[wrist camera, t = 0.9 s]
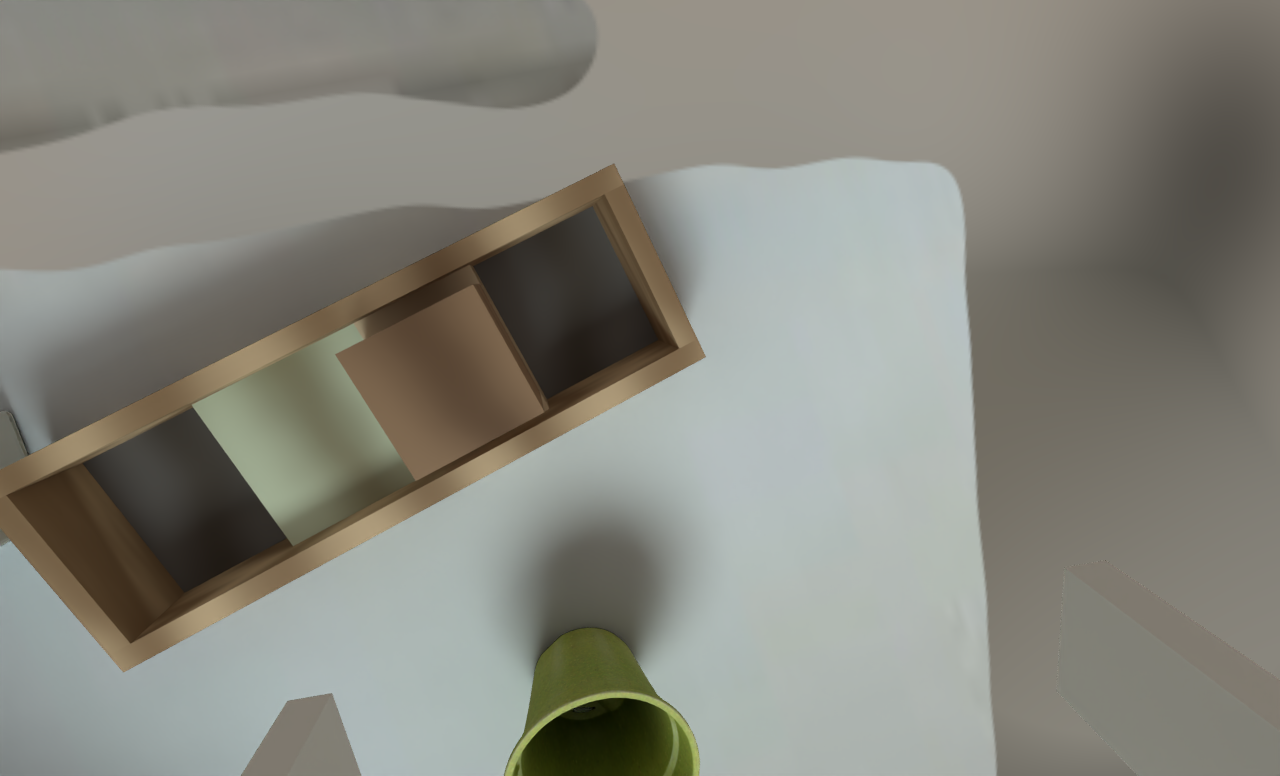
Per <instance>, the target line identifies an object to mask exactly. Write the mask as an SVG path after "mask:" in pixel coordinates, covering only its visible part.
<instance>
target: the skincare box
mask: <svg viewBox="0 0 1280 776" xmlns="http://www.w3.org/2000/svg"><path fill="white" fill-rule="evenodd" d="M26 456H28V454H27V451H26V449H25V446H24V443H23V441H22V438H21V436H20V433H19V430H18V428H17V426H16V423H15V420H14V418H13V416H12V414H11V413H10V412H7V411H0V469H2V468H4V467H6V466H8V465H10V464H12V463H14V462H16V461H18V460H20V459H22V458H24V457H26ZM9 541H11V540H10V539H9V538H8V537H7V536H6V534H5V533H4V532H3V531H2V530H1V529H0V546H2V545H4V544H5V543H7V542H9Z"/></svg>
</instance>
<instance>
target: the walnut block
mask: <svg viewBox="0 0 1280 776" xmlns="http://www.w3.org/2000/svg"><path fill="white" fill-rule="evenodd" d="M335 355H336V357H337V358H338V360H339V362H340V363H341V365H342V366H343V368H344V369H345V371H346V372H347V374H348V376H349V377H350V379H351V380H352V382H353V383H354V385H355V387H356V388H357V390H358V391H359V393H360V394H361V396H362V398H363V399H364V401H365V402H366V404H367V405H368V407H369V408H370V410H371V412H372V413H373V415H374V416H375V418H376V419H377V421H378V423H379V424H380V426H381V427H382V429H383V430H384V432H385V434H386V435H387V437H388V438H389V440H390V441H391V443H392V444H393V446H394V448H395V449H396V451H397V452H398V454H399V455H400V457H401V459H402V460H403V462H404V463H405V465H406V466H407V468H408V470H409V471H410V473H411V474H412V476H413V477H414V479H415V480H416V481H417V480H419V479H421V478H423V477H425V476H427V475H428V474H430V473H432V472H434V471H436V470H438V469H440V468H441V467H443V466H445V465H447V464H449V463H451V462H453V461H455V460H456V459H458V458H460V457H462V456H464V455H466V454H468V453H469V452H471V451H473V450H475V449H477V448H479V447H481V446H482V445H484V444H486V443H488V442H490V441H492V440H494V439H496V438H497V437H499V436H501V435H503V434H505V433H507V432H509V431H510V430H512V429H514V428H516V427H518V426H520V425H522V424H524V423H525V422H527V421H529V420H531V419H533V418H535V417H537V416H538V415H540V414H542V413H544V408H543V403H542V399H541V394H540V391H539V389H538V387H537V386H536V384H535V382H534V380H533V378H532V377H531V375H530V373H529V371H528V369H527V368H526V366H525V364H524V362H523V360H522V359H521V357H520V355H519V353H518V351H517V350H516V348H515V346H514V344H513V342H512V341H511V339H510V337H509V335H508V333H507V332H506V330H505V328H504V326H503V324H502V323H501V321H500V319H499V317H498V315H497V314H496V312H495V310H494V308H493V306H492V305H491V303H490V301H489V299H488V298H487V296H486V294H485V292H484V290H483V289H482V287H481V285H480V284H473V285H471V286H469V287H467V288H465V289H463V290H461V291H459V292H457V293H455V294H453V295H451V296H449V297H447V298H445V299H443V300H441V301H439V302H437V303H435V304H433V305H431V306H429V307H427V308H425V309H423V310H422V311H420V312H418V313H416V314H414V315H412V316H410V317H408V318H406V319H404V320H402V321H400V322H398V323H396V324H394V325H392V326H390V327H388V328H386V329H384V330H382V331H380V332H378V333H376V334H374V335H372V336H370V337H368V338H366V339H364V340H362V341H360V342H358V343H356V344H354V345H353V346H351V347H349V348H347V349H345V350H343V351H341V352H339V353H337V354H335Z"/></svg>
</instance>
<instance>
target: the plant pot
mask: <svg viewBox="0 0 1280 776" xmlns="http://www.w3.org/2000/svg"><path fill="white" fill-rule="evenodd" d="M575 707H578V708H580V707H582V708H585V707H591V708H592V707H595V708H594V709H592V710H590V711H588V712H583V713H577V712H574V711H573V708H575ZM699 769H700V758H699V751H698V746H697V743H696V740H695V737H694V734H693V732H692V730H691V729H690V727H689V725H688V723H687V722H686V720H685V719H684V718H683V716H682V715H681V714H680V713H679V712H678V711H677V710H676V709H675V708H674V707H673V706H671V705H670V704H669V703H667V702H666V701H664V700H663V699H662V698H660V697H659V696H658V695H657V694H656V692H655V690H654V689H653V687H652V686H651V684H650V683H649V681H648V679H647V678H646V676H645V674H644V673H643V671H642V669H641V668H640V666H639V664H638V663H637V661H636V659H635V658H634V656H633V654H632V653H631V651H630V649H629V648H628V646H627V645H626V644H625V643H624V642H623V641H622V640H621V639H619V638H618V637H617V636H616V635H614V634H613V633H611V632H609V631H606V630H603V629H598V628H582V629H577V630H573V631H570V632H568V633H565V634H564V635H562V636H560V637H559V638H558V639H557V640H556V641H555V642H554V643H553V644H552V645H551V646H550V647H549V648H548V649H547V650H546V651H545V652H544V653H543V654H542V655H541V656H540V658H539V660H538V662H537V665H536V668H535V672H534V679H533V685H532V691H531V698H530V703H529V709H528V714H527V720H526V725H525V730H524V733H523V735H522V737H521V738H520V740H519V741H518V743H517V744H516V746H515V748H514V750H513V751H512V753H511V756H510V758H509V760H508V763H507V766H506V770H505V773H504V776H699Z"/></svg>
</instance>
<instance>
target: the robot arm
mask: <svg viewBox="0 0 1280 776" xmlns="http://www.w3.org/2000/svg"><path fill="white" fill-rule="evenodd" d="M1063 582H1064V583H1063V597H1062V612H1061V628H1060V643H1059V660H1058V676H1057V692H1058V693H1059V694H1060V695H1061V696H1062V697H1063V698H1064V699H1065V701H1066V702H1067V703H1068V704H1069V705H1070V706H1071V707H1072V708H1073V709H1074V710H1075V711H1076V712H1077V713H1078V714H1079V715H1080V716H1081V717H1082V718H1083V719H1084V720H1085V721H1086V722H1087V723H1088V724H1089V726H1091V728H1092V729H1093V730H1094V731H1095V732H1096V733H1097V734H1098V735H1099V736H1100V737H1101V738H1102V739H1103V740H1104V741H1105V742H1106V743H1107V744H1108V745H1109V746H1110V747H1111V748H1112V749H1113V751H1115V753H1116V754H1117V755H1118V756H1119V757H1120V758H1121V759H1122V760H1123V761H1124V762H1125V763H1126V764H1127V765H1128V766H1129V767H1130V768H1131V769H1132V770H1133V771H1134V772H1135V773H1136V774H1137V775H1138V776H1280V680H1279V679H1278V678H1277V677H1275V676H1274V675H1272V674H1271V673H1269V672H1268V671H1266V670H1265V669H1263V668H1262V667H1260V666H1259V665H1258V664H1256V663H1255V662H1253V661H1252V660H1250V659H1249V658H1247V657H1246V656H1244V655H1243V654H1242V653H1240V652H1239V651H1237V650H1236V649H1234V648H1233V647H1231V646H1230V645H1228V644H1227V643H1225V642H1224V641H1223V640H1221V639H1220V638H1218V637H1217V636H1215V635H1214V634H1212V633H1211V632H1209V631H1208V630H1207V629H1205V628H1204V627H1202V626H1201V625H1199V624H1198V623H1196V622H1195V621H1193V620H1192V619H1191V618H1189V617H1188V616H1186V615H1185V614H1183V613H1182V612H1180V611H1179V610H1177V609H1176V608H1174V607H1173V606H1172V605H1170V604H1169V603H1167V602H1166V601H1164V600H1163V599H1161V598H1160V597H1158V596H1157V595H1155V594H1154V593H1153V592H1151V591H1150V590H1148V589H1147V588H1145V587H1144V586H1142V585H1141V584H1139V583H1138V582H1137V581H1135V580H1134V579H1132V578H1131V577H1129V576H1128V575H1126V574H1125V573H1123V572H1122V571H1120V570H1119V569H1118V568H1116V567H1114V566H1113V565H1111V564H1110V563H1109V562H1107V561H1106V560H1105V561H1098V562H1093V563H1087V564H1081V565H1076V566H1070V567H1064V580H1063ZM241 776H361V773H360V770H359V768H358V765H357V762H356V759H355V756H354V754H353V751H352V748H351V745H350V742H349V740H348V737H347V734H346V731H345V728H344V726H343V723H342V720H341V717H340V715H339V712H338V709H337V706H336V703H335V701H334V698H333V695H332V693H331V694H325V695H319V696H313V697H307V698H301V699H296V700H290V701H287V703H286V704H285V706H284V707H283V709H282V711H281V712H280V714H279V715H278V717H277V719H276V720H275V722H274V723H273V725H272V727H271V728H270V730H269V732H268V733H267V735H266V736H265V738H264V740H263V741H262V743H261V744H260V746H259V748H258V749H257V751H256V752H255V754H254V756H253V757H252V759H251V760H250V762H249V764H248V765H247V767H246V768H245V770H244V772H243V773H242V775H241Z"/></svg>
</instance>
